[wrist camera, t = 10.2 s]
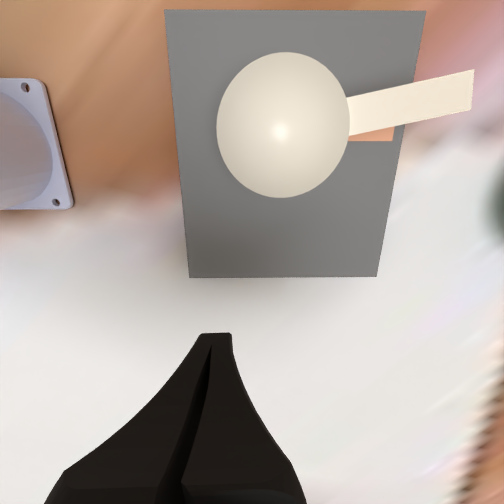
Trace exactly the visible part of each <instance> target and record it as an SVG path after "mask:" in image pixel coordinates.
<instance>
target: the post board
mask: <svg viewBox="0 0 504 504" xmlns="http://www.w3.org/2000/svg"><path fill="white" fill-rule="evenodd" d="M164 14H165V25H166V35H167V46H168V56H169V67H170V77H171V88H172V98H173V109H174V120H175V130H176V141H177V151H178V162H179V172H180V183H181V193H182V204H183V214H184V225H185V236H186V246H187V257H188V267H189V278H266V277H376V276H377V271H378V265H379V260H380V255H381V249H382V244H383V239H384V233H385V228H386V223H387V217H388V212H389V207H390V201H391V196H392V191H393V185H394V180H395V175H396V169H397V164H398V159H399V153H400V148H401V143H402V137H403V132H404V127H405V124H402V125H398V126H393V127H388V128H384V129H379V130H374V131H370V132H365V133H360V134H356V135H351V136H349V137H348V141H347V145H346V148H345V151H344V154H343V156H342V158H341V160H340V162H339V163H338V165H337V166H336V168H335V169H334V171H333V172H332V173H331V174H330V175H329V176H328V177H327V178H326V179H325V180H324V181H323V182H322V183H321V184H319V185H318V186H317V187H315V188H313V189H312V190H310V191H308V192H306V193H303V194H301V195H297V196H293V197H287V198H275V197H268V196H264V195H261V194H258V193H256V192H253V191H252V190H250V189H248V188H246V187H245V186H244V185H243V184H241V183H240V182H239V181H238V180H237V179H236V178H235V177H234V176H233V175H232V173H231V172H230V171H229V169H228V168H227V166H226V164H225V162H224V160H223V158H222V156H221V153H220V149H219V146H218V140H217V130H216V125H217V115H218V110H219V106H220V103H221V100H222V97H223V95H224V93H225V91H226V89H227V87H228V86H229V84H230V83H231V81H232V80H233V79H234V78H235V76H236V75H237V74H238V73H239V72H240V71H241V70H242V69H243V68H244V67H246V66H247V65H248V64H250V63H251V62H253V61H255V60H257V59H259V58H261V57H263V56H266V55H269V54H273V53H279V52H293V53H299V54H303V55H306V56H309V57H311V58H313V59H315V60H317V61H318V62H320V63H321V64H323V65H324V66H325V67H326V68H327V69H328V70H329V71H330V72H332V74H333V75H334V76H335V77H336V79H337V80H338V82H339V83H340V85H341V87H342V89H343V91H344V94H345V96H346V98H347V97H352V96H356V95H361V94H365V93H370V92H374V91H379V90H383V89H388V88H392V87H397V86H401V85H406V84H410V83H413V79H414V73H415V68H416V63H417V57H418V52H419V47H420V41H421V36H422V31H423V25H424V20H425V15H426V11H355V10H164Z"/></svg>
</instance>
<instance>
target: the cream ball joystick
mask: <svg viewBox="0 0 504 504" xmlns="http://www.w3.org/2000/svg"><path fill="white" fill-rule="evenodd" d="M473 79H474V69H473V70H468V71H464V72H459V73H455V74H450V75H446V76H441V77H437V78H432V79H428V80H424V81H419V82H415V83H410V84H406V85H401V86H397V87H392V88H388V89H383V90H379V91H374V92H370V93H365V94H361V95H356V96H352V97H347V98H346V96H345V94H344V91H343V89H342V87H341V85H340V83H339V82H338V80H337V79H336V77H335V76H334V75H333V74H332V72H330V71H329V70H328V69H327V68H326V67H325V66H324V65H323V64H321V63H320V62H318V61H317V60H315V59H313V58H311V57H309V56H306V55H303V54H299V53H293V52H279V53H273V54H269V55H266V56H263V57H261V58H259V59H257V60H255V61H253V62H251V63H250V64H248V65H247V66H246V67H244V68H243V69H242V70H241V71H240V72H239V73H238V74H237V75H236V76H235V78H234V79H233V80H232V81H231V83H230V84H229V86H228V87H227V89H226V91H225V93H224V95H223V97H222V100H221V103H220V106H219V110H218V115H217V125H216V130H217V140H218V146H219V149H220V153H221V156H222V158H223V160H224V162H225V164H226V166H227V168H228V169H229V171H230V172H231V173H232V175H233V176H234V177H235V178H236V179H237V180H238V181H239V182H240V183H241V184H243V185H244V186H245V187H246V188H248V189H250V190H252V191H253V192H256V193H258V194H261V195H264V196H268V197H275V198H287V197H293V196H297V195H301V194H303V193H306V192H308V191H310V190H312V189H313V188H315V187H317V186H318V185H319V184H321V183H322V182H323V181H324V180H325V179H326V178H327V177H328V176H329V175H330V174H331V173H332V172H333V171H334V169H335V168H336V166H337V165H338V163H339V162H340V160H341V158H342V156H343V154H344V151H345V148H346V145H347V141H348V137H349V136H351V135H356V134H360V133H365V132H370V131H374V130H379V129H384V128H388V127H393V126H398V125H402V124H407V123H412V122H416V121H421V120H426V119H430V118H435V117H440V116H444V115H449V114H454V113H458V112H463V111H468V110H471V103H472V91H473Z"/></svg>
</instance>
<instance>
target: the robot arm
mask: <svg viewBox="0 0 504 504" xmlns="http://www.w3.org/2000/svg"><path fill="white" fill-rule="evenodd" d="M26 84H28V85H29V87H30V91H29V92H27V90H26V87H25V86H26ZM56 199H57V200H59V202H60V205H58V204H57V203H56ZM72 206H73V198H72V194H71V190H70V186H69V182H68V178H67V174H66V170H65V166H64V161H63V157H62V153H61V149H60V145H59V141H58V137H57V133H56V128H55V124H54V120H53V116H52V112H51V108H50V104H49V100H48V95H47V91H46V88H45V85H44V84H43V83H42V82H41V81H40V80H38V79H34V78H0V210H36V209H69V208H71V207H72ZM44 504H307V503H306V499H305V496H304V493H303V490H302V487H301V485H300V482H299V480H298V478H297V475H296V473H295V471H294V468H293V466H292V464H291V462H290V460H289V459H288V458H287V457H286V455H285V454H284V453H283V451H282V450H281V449H280V447H279V446H278V445H277V443H276V442H275V440H274V439H273V437H272V436H271V434H270V433H269V431H268V430H267V428H266V426H265V425H264V423H263V421H262V420H261V418H260V417H259V415H258V413H257V411H256V410H255V408H254V406H253V404H252V402H251V400H250V398H249V396H248V394H247V391H246V389H245V387H244V385H243V382H242V379H241V377H240V374H239V371H238V368H237V365H236V362H235V359H234V355H233V346H232V335H231V334H230V333H202V334H200V335H199V337H198V339H197V340H196V342H195V344H194V345H193V347H192V348H191V350H190V351H189V353H188V354H187V356H186V357H185V359H184V360H183V361H182V363H181V364H180V366H179V367H178V368H177V370H176V371H175V372H174V373H173V375H172V376H171V377H170V378H169V380H168V381H167V382H166V383H165V385H164V386H163V387H162V388H161V389H160V390H159V392H158V393H157V394H156V395H155V396H154V397H153V398H152V399H151V400H150V401H149V402H148V403H147V404H146V405H145V406H144V407H143V408H142V409H141V410H140V411H139V412H138V413H137V414H136V415H135V416H134V417H133V418H132V419H131V420H130V421H129V422H128V423H126V424H125V425H124V426H123V427H122V428H121V429H119V430H118V431H117V432H116V433H115V434H113V435H112V436H111V437H110V438H109V439H107V440H106V441H105V442H104V443H102V444H101V445H100V446H98V447H97V448H96V449H95V450H93V451H92V452H90V453H89V454H87V455H86V456H85V457H83V458H82V459H80V460H79V461H78V462H76V463H75V464H73V465H72V466H71V467H69V468H68V469H66V470H65V471H64V472H63V473H62V475H61V477H60V478H59V480H58V481H57V483H56V484H55V486H54V487H53V489H52V491H51V492H50V494H49V496H48V497H47V499H46V501H45V503H44Z"/></svg>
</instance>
